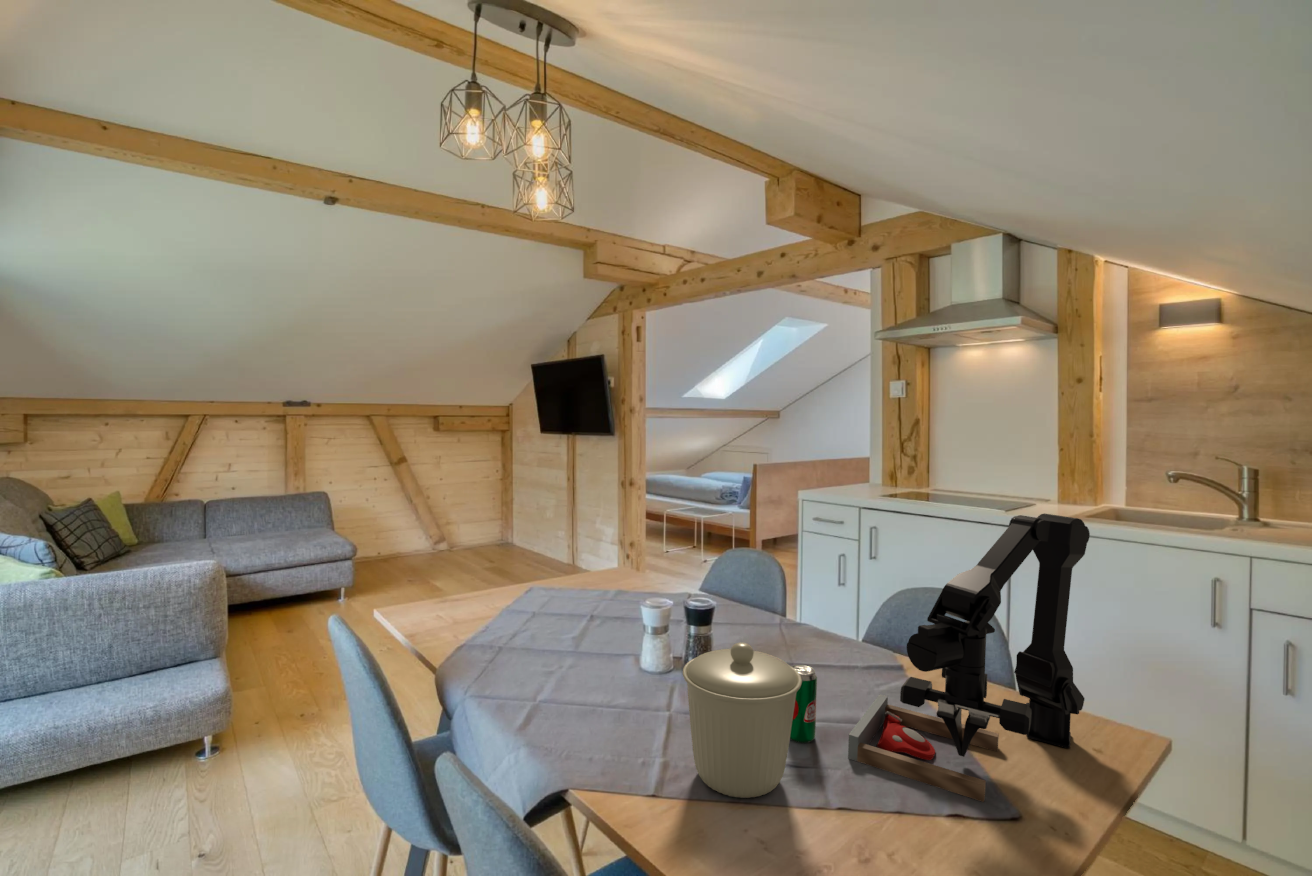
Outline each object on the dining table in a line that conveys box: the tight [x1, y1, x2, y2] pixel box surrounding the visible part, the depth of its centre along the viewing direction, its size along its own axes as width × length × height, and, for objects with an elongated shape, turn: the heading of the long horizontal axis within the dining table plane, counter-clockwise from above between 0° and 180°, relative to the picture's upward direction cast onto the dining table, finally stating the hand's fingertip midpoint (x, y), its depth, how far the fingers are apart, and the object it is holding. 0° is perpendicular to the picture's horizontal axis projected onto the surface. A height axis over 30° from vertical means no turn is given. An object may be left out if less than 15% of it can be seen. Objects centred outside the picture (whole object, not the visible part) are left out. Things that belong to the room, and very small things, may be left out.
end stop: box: [847, 694, 889, 762], centre depth 111 cm, size 2×19×4 cm, turn 146°
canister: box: [682, 641, 802, 799], centre depth 97 cm, size 18×18×21 cm
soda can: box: [790, 664, 818, 744], centre depth 110 cm, size 5×5×12 cm
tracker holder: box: [876, 711, 936, 761], centre depth 109 cm, size 12×4×10 cm
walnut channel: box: [856, 704, 1000, 803], centre depth 106 cm, size 18×19×2 cm
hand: (962, 755), depth 103 cm, fingers closed
